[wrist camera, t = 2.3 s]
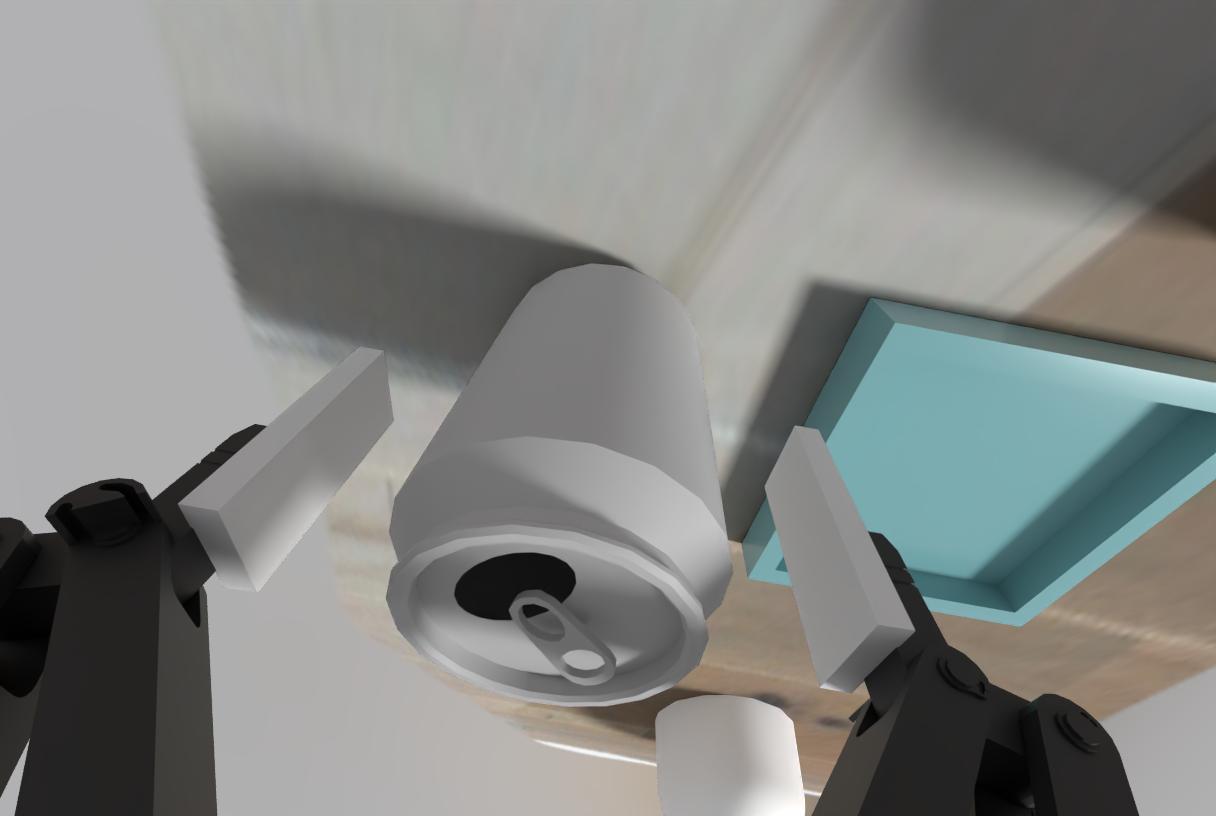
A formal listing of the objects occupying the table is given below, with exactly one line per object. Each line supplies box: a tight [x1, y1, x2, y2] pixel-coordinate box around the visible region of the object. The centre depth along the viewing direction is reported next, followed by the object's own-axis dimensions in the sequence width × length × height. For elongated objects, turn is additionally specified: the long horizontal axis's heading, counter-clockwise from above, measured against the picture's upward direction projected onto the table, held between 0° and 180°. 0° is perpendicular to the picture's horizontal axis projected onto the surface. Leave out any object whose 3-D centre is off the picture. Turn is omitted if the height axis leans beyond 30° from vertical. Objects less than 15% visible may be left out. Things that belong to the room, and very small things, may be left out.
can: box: [386, 263, 733, 707], centre depth 14 cm, size 8×8×12 cm
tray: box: [742, 297, 1216, 627], centre depth 20 cm, size 14×14×2 cm
